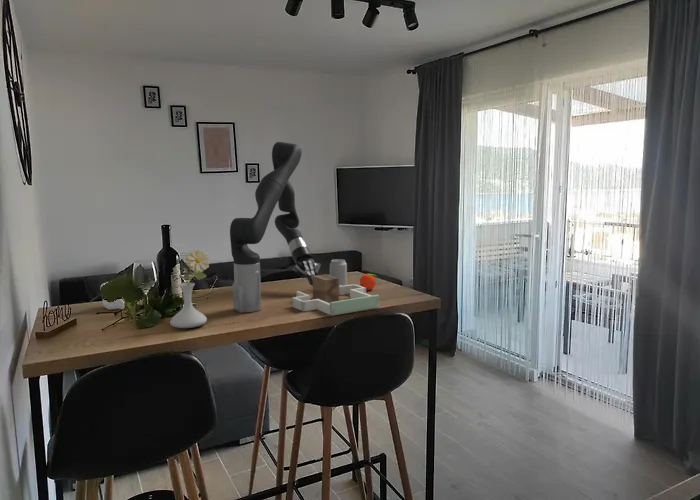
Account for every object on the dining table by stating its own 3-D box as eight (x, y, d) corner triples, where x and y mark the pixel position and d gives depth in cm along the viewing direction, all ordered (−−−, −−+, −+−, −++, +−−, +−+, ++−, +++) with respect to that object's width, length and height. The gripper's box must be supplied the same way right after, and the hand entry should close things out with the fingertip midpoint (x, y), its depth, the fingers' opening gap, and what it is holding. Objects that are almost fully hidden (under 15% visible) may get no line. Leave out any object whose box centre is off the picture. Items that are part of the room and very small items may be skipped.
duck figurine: (106, 311, 189) (85, 291, 183) (121, 296, 193) (101, 276, 186) (120, 317, 181) (98, 296, 175) (135, 302, 185) (115, 281, 178)
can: (350, 286, 220) (350, 259, 218) (338, 289, 214) (338, 262, 213) (338, 284, 225) (338, 258, 223) (326, 287, 219) (325, 260, 218)
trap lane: (317, 318, 171) (316, 305, 170) (283, 302, 193) (282, 290, 192) (391, 305, 188) (391, 293, 187) (352, 291, 210) (352, 281, 209)
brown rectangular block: (325, 303, 192) (325, 280, 190) (312, 298, 200) (312, 275, 199) (338, 301, 195) (338, 278, 193) (325, 296, 203) (325, 274, 202)
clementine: (378, 288, 217) (379, 272, 216) (378, 291, 210) (378, 275, 209) (360, 287, 218) (360, 271, 217) (359, 291, 211) (359, 274, 210)
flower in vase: (171, 333, 155) (167, 253, 152) (169, 323, 165) (164, 248, 162) (214, 328, 160) (211, 250, 157) (209, 319, 171) (206, 246, 167)
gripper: (288, 246, 206) (302, 281, 198) (316, 244, 214) (331, 277, 205) (282, 257, 212) (296, 291, 203) (310, 255, 219) (325, 287, 210)
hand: (314, 284), depth 204 cm, fingers closed
